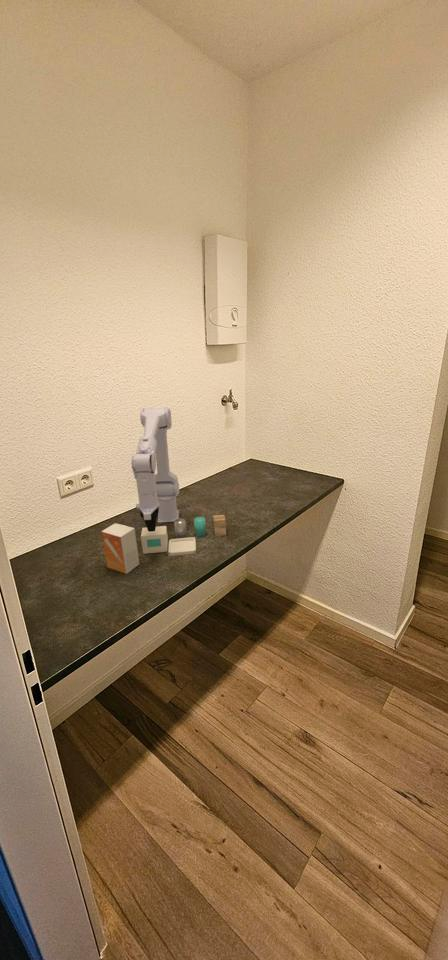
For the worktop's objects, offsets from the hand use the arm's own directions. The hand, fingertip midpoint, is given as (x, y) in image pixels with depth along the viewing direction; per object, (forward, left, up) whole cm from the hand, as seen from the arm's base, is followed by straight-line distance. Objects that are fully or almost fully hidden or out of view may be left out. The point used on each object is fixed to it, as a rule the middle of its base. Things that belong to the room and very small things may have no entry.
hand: (151, 530), depth 126 cm
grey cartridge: (-12, +9, -9) cm, 17 cm away
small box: (+5, -9, -9) cm, 14 cm away
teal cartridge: (-12, +16, -9) cm, 21 cm away
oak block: (-12, +23, -9) cm, 27 cm away
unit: (-5, 0, -9) cm, 10 cm away
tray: (-3, +9, -9) cm, 13 cm away
